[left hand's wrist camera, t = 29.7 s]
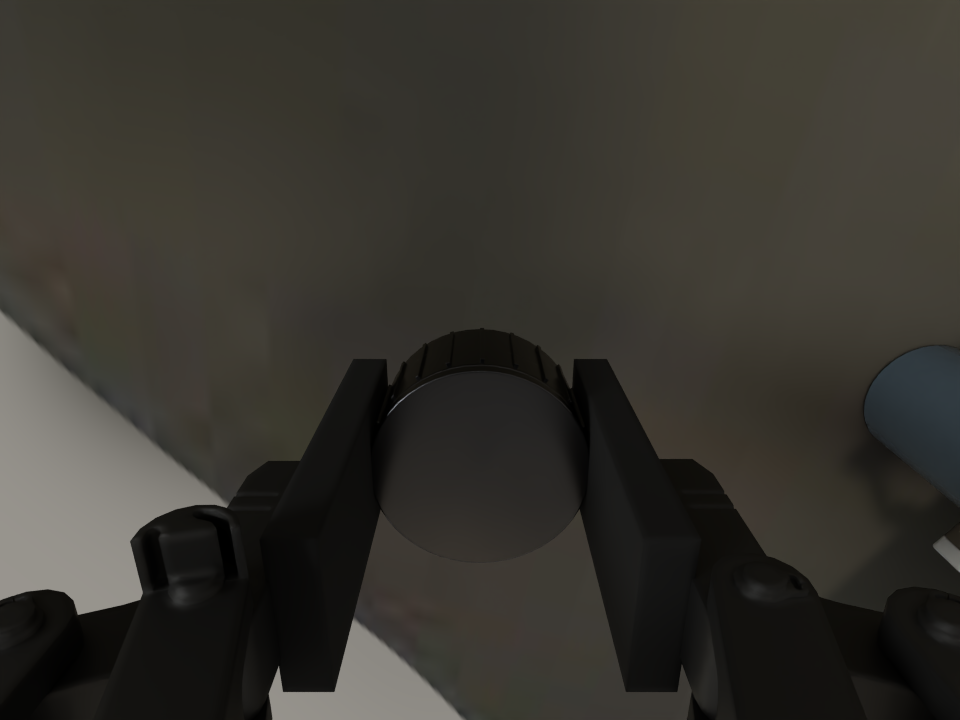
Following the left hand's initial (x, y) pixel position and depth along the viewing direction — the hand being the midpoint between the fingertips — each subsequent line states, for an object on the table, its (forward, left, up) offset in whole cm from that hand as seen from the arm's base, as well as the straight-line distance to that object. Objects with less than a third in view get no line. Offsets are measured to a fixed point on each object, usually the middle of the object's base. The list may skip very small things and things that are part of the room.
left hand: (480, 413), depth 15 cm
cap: (0, 0, +2) cm, 2 cm away
